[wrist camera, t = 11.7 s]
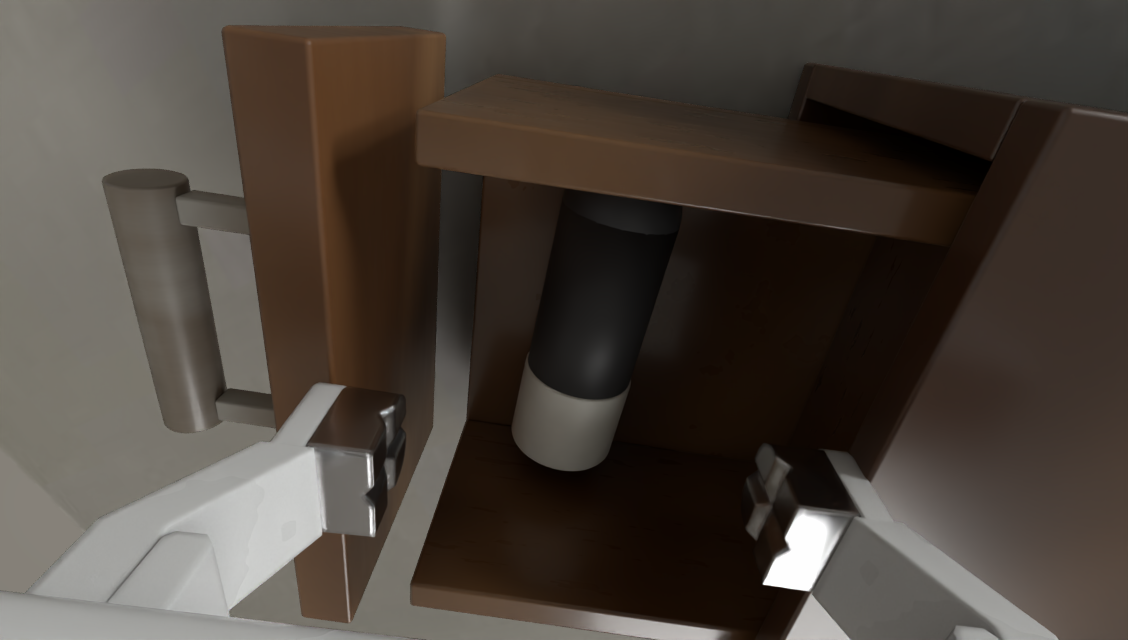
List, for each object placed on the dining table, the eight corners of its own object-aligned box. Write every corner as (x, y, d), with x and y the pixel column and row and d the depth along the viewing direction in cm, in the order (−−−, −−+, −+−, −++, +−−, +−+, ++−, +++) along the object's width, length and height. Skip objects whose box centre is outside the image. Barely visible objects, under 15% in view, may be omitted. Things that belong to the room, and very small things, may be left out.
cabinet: (680, 459, 21) (731, 734, 13) (804, 61, 14) (1068, 105, 6) (1062, 515, 21) (1352, 821, 13) (1353, 147, 14) (2295, 298, 6)
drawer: (277, 404, 19) (116, 592, 13) (223, -2, 14) (-118, -28, 7) (778, 477, 20) (865, 697, 13) (936, 110, 14) (1233, 182, 7)
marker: (618, 132, 14) (546, 133, 12) (721, 168, 13) (663, 174, 10) (549, 407, 18) (487, 446, 16) (622, 456, 17) (565, 505, 14)
